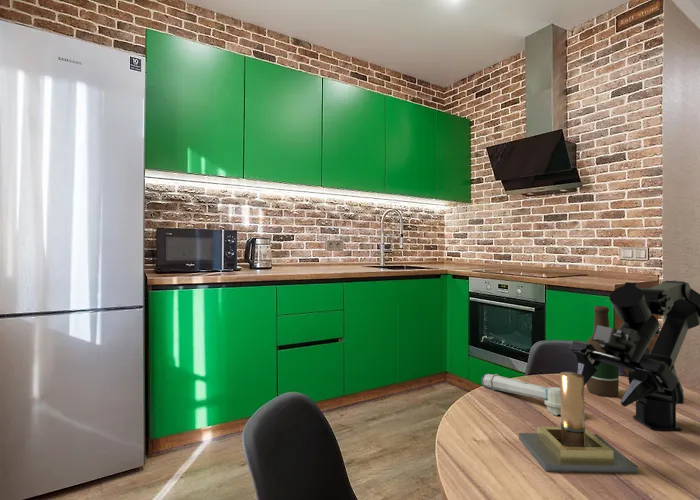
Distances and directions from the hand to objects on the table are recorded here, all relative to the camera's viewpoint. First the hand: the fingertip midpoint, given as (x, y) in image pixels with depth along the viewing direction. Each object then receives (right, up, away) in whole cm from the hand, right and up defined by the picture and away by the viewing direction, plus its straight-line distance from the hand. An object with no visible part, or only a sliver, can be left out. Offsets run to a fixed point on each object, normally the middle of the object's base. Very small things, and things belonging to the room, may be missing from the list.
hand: (598, 396), depth 77 cm
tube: (-7, -9, -3) cm, 12 cm away
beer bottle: (+20, -11, +30) cm, 38 cm away
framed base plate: (-7, -10, -3) cm, 13 cm away
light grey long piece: (-4, -11, +25) cm, 27 cm away
